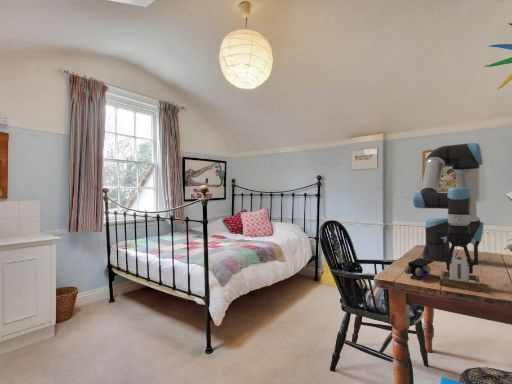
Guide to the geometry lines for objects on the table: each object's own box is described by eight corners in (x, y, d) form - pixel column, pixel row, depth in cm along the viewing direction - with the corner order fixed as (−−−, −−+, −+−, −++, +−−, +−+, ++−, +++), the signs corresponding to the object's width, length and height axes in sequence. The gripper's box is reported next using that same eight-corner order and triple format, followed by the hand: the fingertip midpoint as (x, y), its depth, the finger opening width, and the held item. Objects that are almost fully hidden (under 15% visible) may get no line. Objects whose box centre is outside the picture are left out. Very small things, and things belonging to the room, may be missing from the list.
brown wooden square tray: (441, 277, 125) (441, 271, 125) (478, 283, 117) (478, 276, 117) (439, 285, 114) (439, 278, 114) (480, 292, 107) (480, 284, 107)
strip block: (452, 277, 119) (452, 255, 119) (466, 280, 116) (466, 257, 116) (451, 281, 115) (451, 258, 115) (467, 283, 112) (466, 259, 112)
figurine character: (420, 284, 120) (434, 274, 129) (419, 268, 119) (433, 258, 128) (404, 281, 125) (419, 271, 134) (403, 264, 125) (418, 256, 134)
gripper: (432, 223, 118) (433, 278, 118) (487, 226, 107) (488, 286, 107) (434, 222, 124) (434, 273, 124) (486, 224, 113) (486, 281, 113)
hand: (459, 279), depth 116 cm, fingers closed on strip block, 5 cm apart
